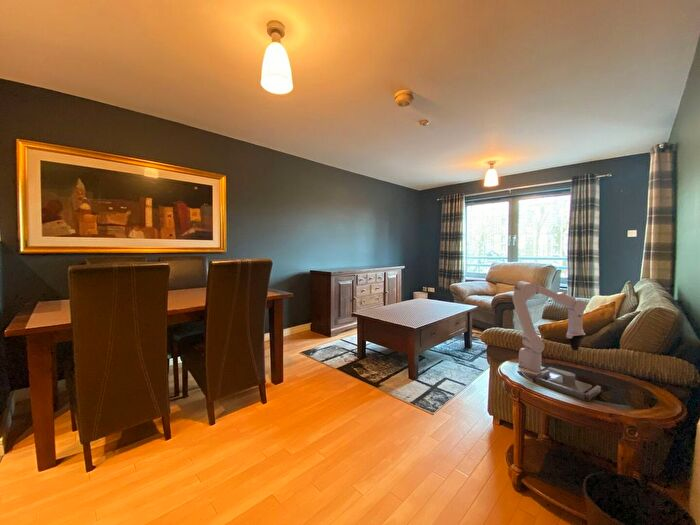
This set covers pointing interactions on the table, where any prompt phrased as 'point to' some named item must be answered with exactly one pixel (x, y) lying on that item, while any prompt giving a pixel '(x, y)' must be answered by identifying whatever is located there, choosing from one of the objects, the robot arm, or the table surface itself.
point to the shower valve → (569, 381)
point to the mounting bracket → (583, 396)
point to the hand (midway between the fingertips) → (574, 349)
